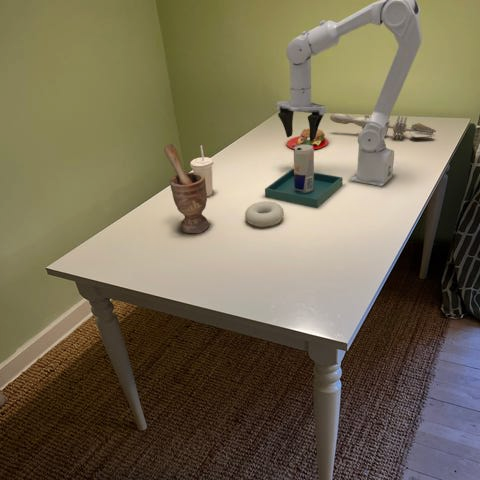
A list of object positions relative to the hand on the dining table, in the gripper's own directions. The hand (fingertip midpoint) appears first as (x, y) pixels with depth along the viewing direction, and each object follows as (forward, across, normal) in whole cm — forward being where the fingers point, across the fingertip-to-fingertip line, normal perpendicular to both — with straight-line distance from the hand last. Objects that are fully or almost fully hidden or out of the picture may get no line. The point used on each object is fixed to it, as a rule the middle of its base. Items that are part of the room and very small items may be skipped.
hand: (301, 137), depth 139 cm
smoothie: (+11, -18, -24) cm, 32 cm away
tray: (+10, +7, -11) cm, 17 cm away
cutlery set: (+11, +10, +36) cm, 39 cm away
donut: (+11, +6, -30) cm, 32 cm away
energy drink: (+10, +7, -11) cm, 17 cm away
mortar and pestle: (+11, -10, -41) cm, 44 cm away
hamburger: (+11, -10, +22) cm, 26 cm away
